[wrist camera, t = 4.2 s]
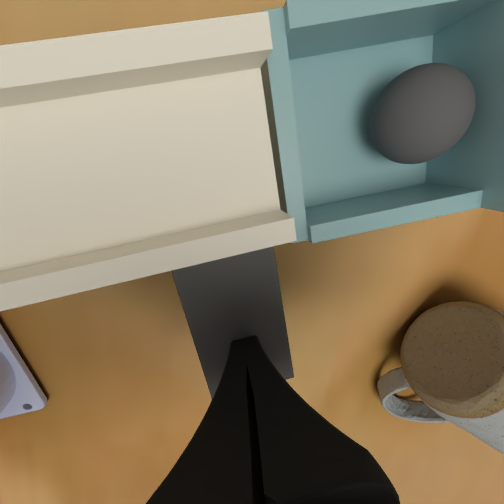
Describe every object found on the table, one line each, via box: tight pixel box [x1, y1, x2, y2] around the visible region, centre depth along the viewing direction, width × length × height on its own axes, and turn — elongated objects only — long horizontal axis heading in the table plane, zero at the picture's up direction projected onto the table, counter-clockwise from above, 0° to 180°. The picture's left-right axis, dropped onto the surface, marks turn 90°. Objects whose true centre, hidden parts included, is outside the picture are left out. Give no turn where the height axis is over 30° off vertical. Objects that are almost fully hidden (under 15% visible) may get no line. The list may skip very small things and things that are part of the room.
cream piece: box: [0, 11, 297, 399], centre depth 9 cm, size 14×14×4 cm
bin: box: [260, 0, 504, 244], centre depth 11 cm, size 10×9×6 cm
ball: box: [369, 63, 476, 164], centre depth 12 cm, size 4×4×4 cm
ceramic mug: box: [377, 301, 504, 454], centre depth 17 cm, size 11×8×8 cm
